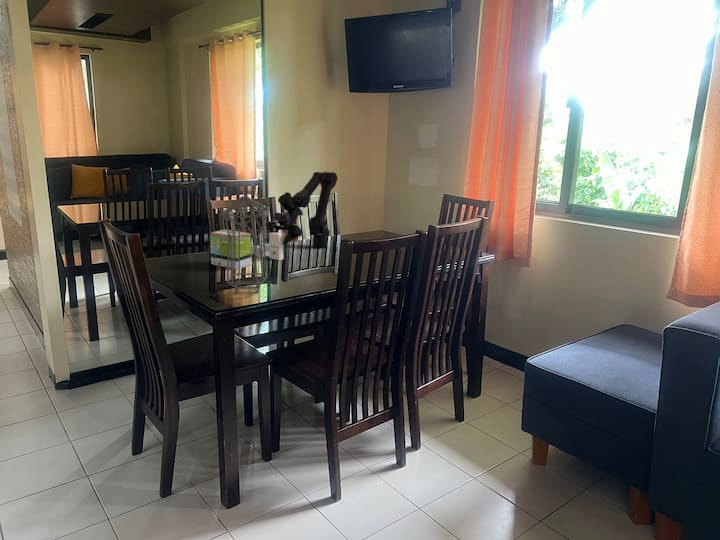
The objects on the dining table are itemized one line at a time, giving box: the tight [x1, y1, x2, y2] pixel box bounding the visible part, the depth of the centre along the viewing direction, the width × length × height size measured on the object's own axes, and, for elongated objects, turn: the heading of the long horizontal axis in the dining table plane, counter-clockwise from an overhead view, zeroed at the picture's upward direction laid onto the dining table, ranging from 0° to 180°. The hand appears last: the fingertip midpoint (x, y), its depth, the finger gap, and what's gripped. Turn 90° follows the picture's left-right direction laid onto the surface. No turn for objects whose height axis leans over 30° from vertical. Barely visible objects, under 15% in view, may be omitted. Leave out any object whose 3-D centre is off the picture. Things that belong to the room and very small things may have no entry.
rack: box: [251, 242, 269, 258], centre depth 254 cm, size 13×9×4 cm
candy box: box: [280, 212, 300, 242], centre depth 284 cm, size 9×4×15 cm, turn 109°
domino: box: [268, 232, 285, 261], centre depth 244 cm, size 6×3×12 cm, turn 57°
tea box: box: [209, 228, 252, 270], centre depth 230 cm, size 15×10×15 cm
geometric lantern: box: [219, 195, 270, 294], centre depth 190 cm, size 16×16×35 cm
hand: (275, 243), depth 243 cm, fingers open, 9 cm apart
